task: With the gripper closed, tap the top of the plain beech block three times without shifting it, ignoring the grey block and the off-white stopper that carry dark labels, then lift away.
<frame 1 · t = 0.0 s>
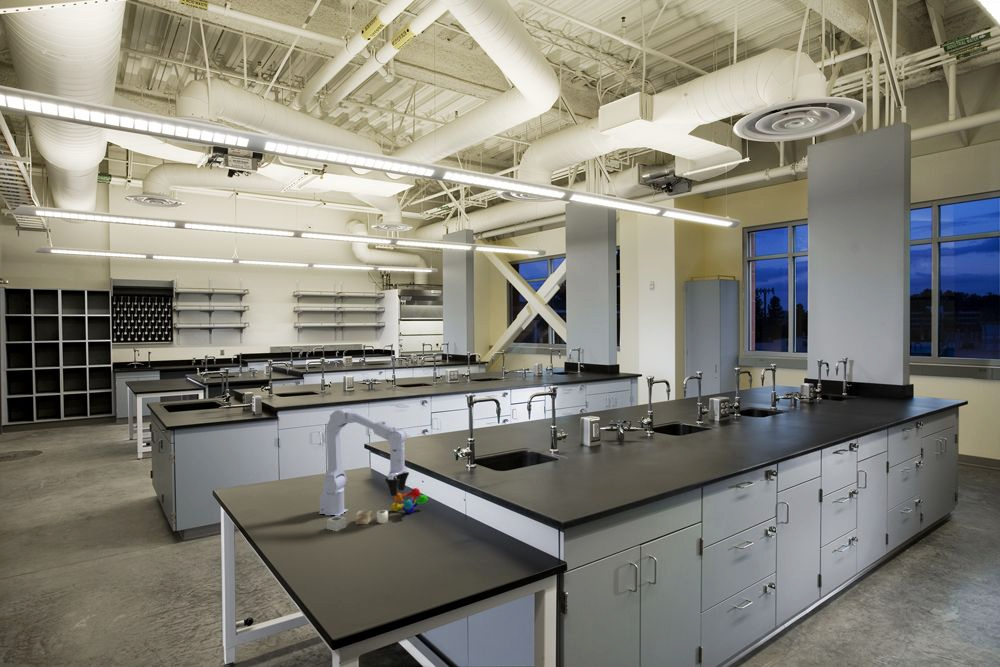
hand: (397, 492, 225), 10 cm above the lab bench, tool pointing down, fingers open, 7 cm apart
molecular model: (409, 512, 233), on the lab bench
offwhite stopper: (382, 522, 220), on the lab bench
grey labelled block: (336, 529, 213), on the lab bench
beech block: (363, 522, 220), on the lab bench
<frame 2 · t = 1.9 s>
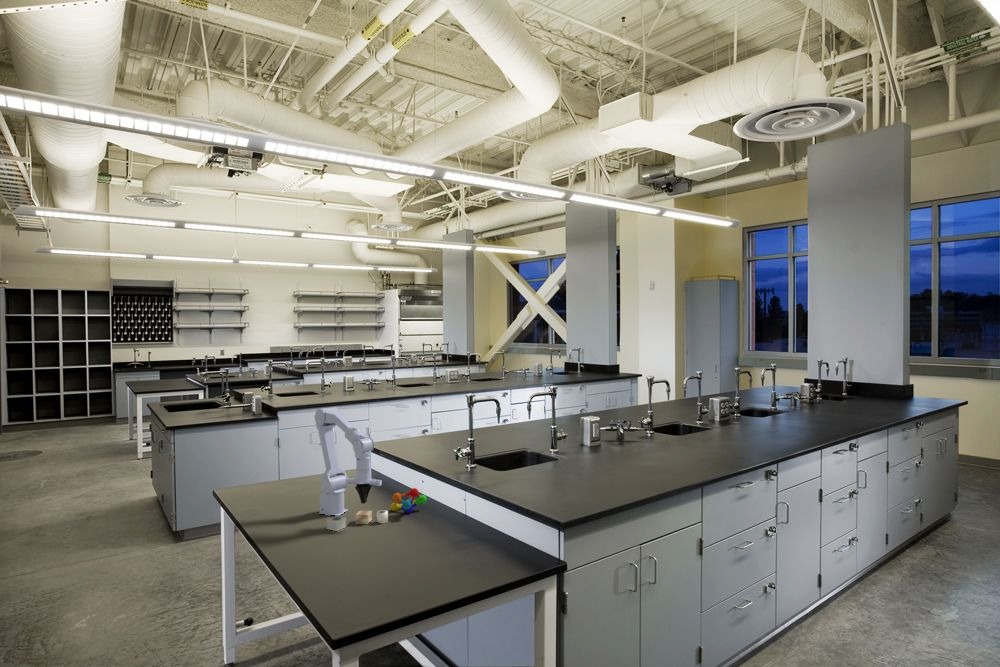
hand: (363, 502, 220), 8 cm above the lab bench, tool pointing down, fingers closed
nothing on the lab bench moved.
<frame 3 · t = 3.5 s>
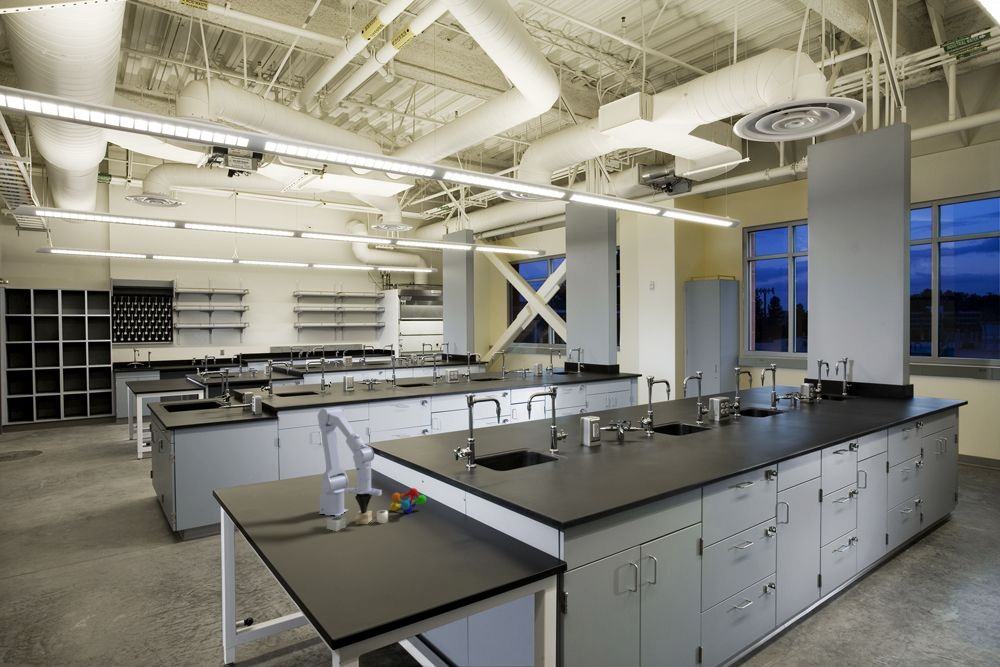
hand: (363, 512, 220), 4 cm above the lab bench, tool pointing down, fingers closed
nothing on the lab bench moved.
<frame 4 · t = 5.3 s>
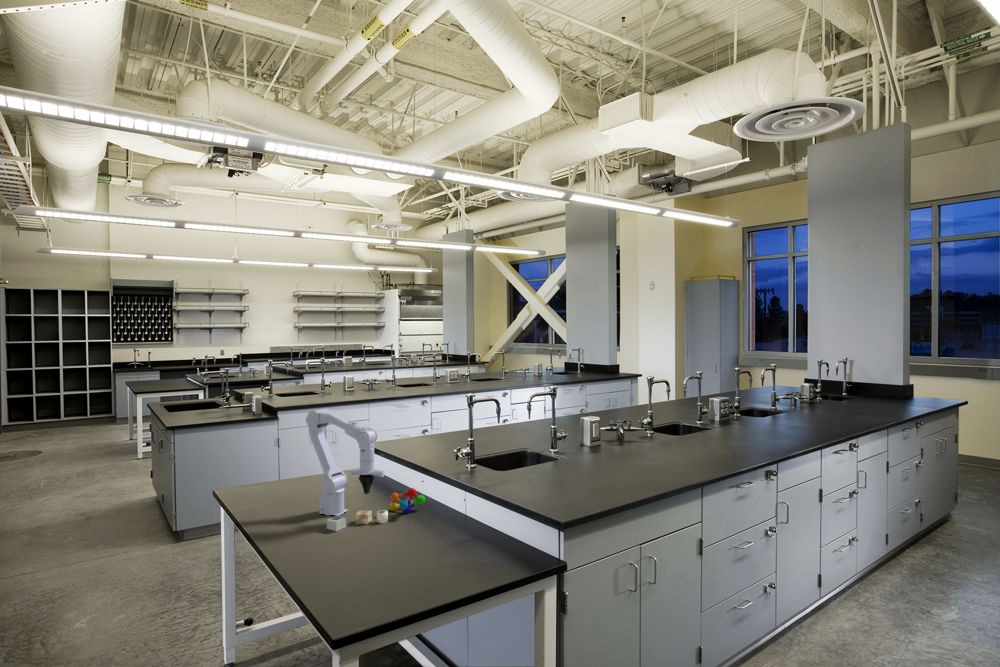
hand: (366, 493, 225), 10 cm above the lab bench, tool pointing down, fingers closed
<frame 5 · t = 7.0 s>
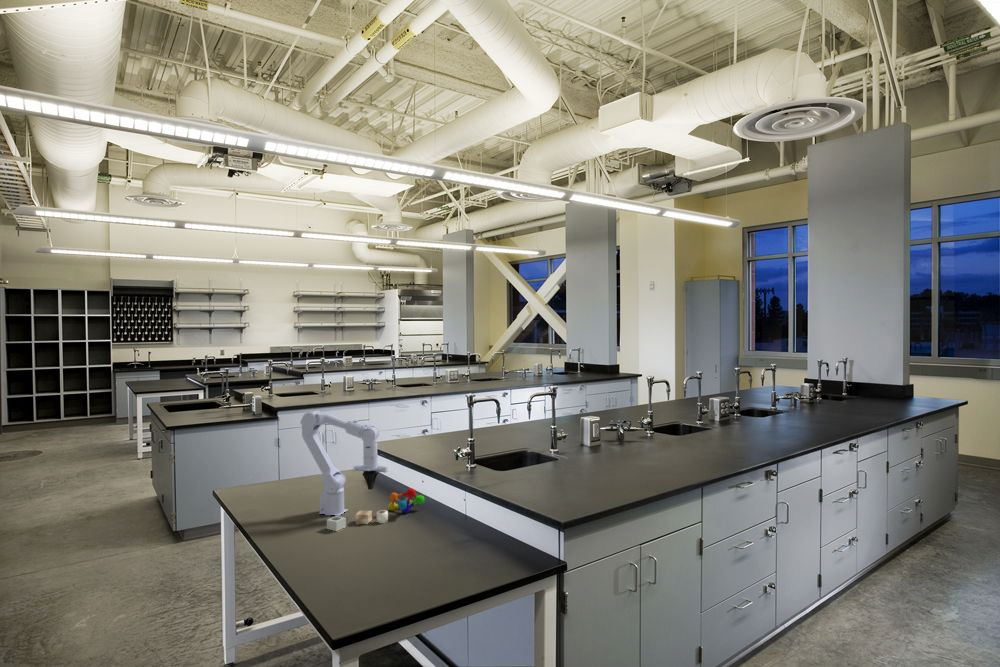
hand: (370, 488, 230), 10 cm above the lab bench, tool pointing down, fingers closed
at the end: beech block moved 0.2 cm from its start; beech block tilted 0°; the gripper is holding nothing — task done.
